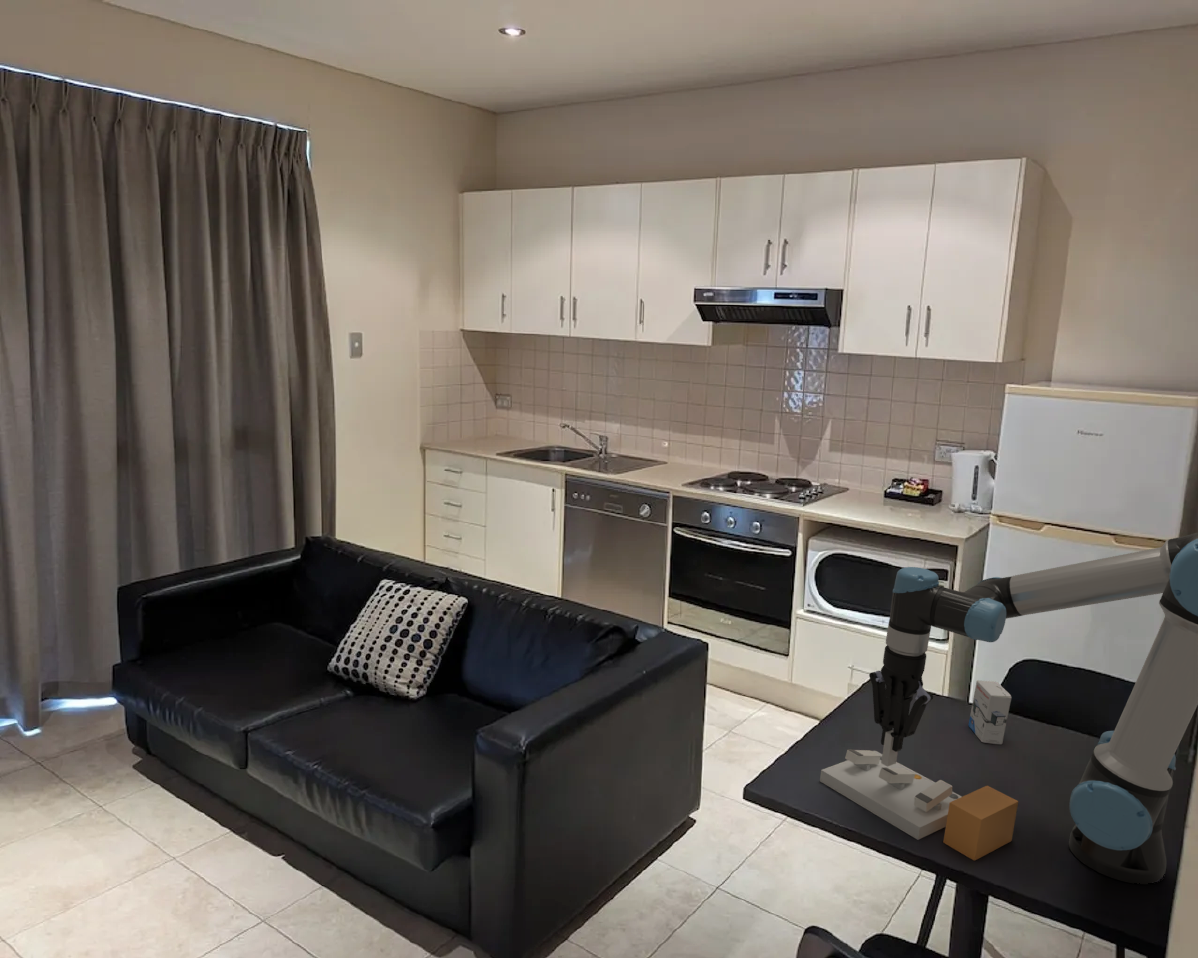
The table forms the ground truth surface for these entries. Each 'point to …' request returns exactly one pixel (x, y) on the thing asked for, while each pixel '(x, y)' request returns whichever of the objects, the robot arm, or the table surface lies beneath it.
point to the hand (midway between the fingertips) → (888, 762)
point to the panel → (888, 796)
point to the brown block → (980, 822)
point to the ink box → (989, 711)
